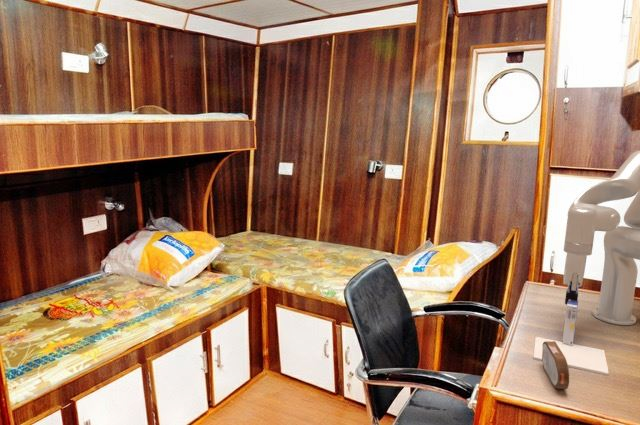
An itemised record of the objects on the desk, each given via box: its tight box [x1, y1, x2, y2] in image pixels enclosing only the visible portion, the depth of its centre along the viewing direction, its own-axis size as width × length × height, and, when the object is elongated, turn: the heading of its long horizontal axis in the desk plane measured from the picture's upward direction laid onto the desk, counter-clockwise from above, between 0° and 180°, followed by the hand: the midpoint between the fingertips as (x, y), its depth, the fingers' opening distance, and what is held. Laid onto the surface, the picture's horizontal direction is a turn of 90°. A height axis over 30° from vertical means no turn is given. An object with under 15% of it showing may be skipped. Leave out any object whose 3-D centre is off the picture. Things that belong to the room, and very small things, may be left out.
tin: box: [541, 340, 570, 390], centre depth 117 cm, size 15×3×8 cm, turn 168°
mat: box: [532, 336, 610, 376], centre depth 130 cm, size 14×18×1 cm
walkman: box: [561, 299, 579, 346], centre depth 137 cm, size 8×3×12 cm, turn 148°
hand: (570, 304), depth 143 cm, fingers closed
